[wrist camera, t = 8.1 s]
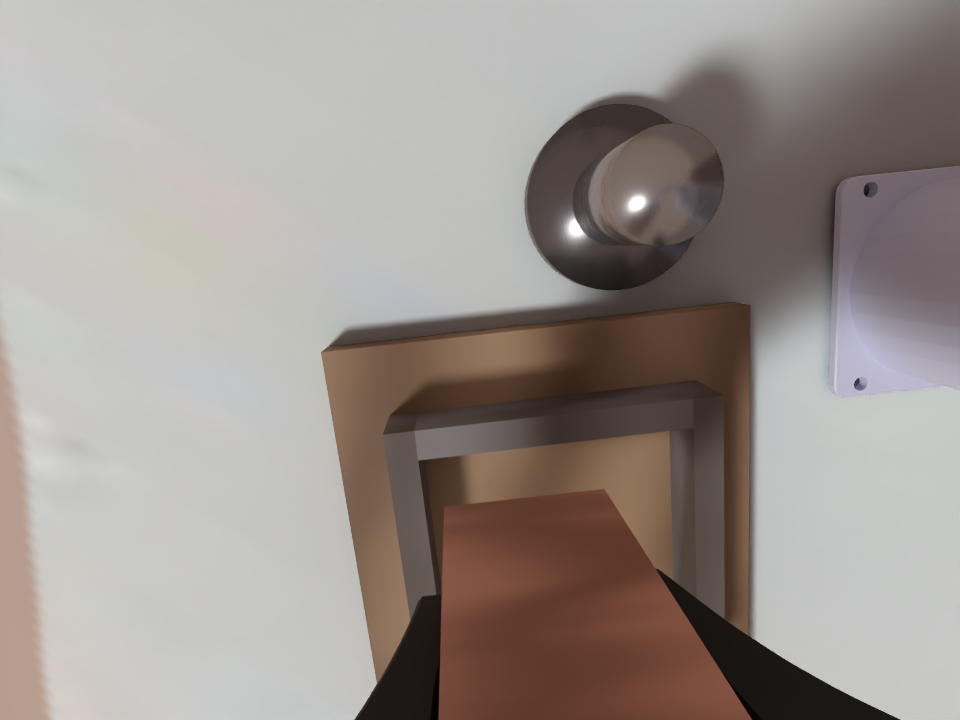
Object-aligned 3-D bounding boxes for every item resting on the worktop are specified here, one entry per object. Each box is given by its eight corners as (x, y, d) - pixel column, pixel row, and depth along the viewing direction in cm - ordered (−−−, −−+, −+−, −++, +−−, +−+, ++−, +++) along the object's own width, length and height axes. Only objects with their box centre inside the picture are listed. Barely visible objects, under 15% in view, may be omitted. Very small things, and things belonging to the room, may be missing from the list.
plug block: (604, 488, 13) (771, 750, 6) (611, 628, 14) (764, 992, 7) (443, 506, 13) (436, 793, 6) (460, 646, 14) (469, 1034, 7)
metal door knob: (692, 102, 18) (782, 47, 13) (694, 279, 19) (778, 289, 14) (517, 119, 18) (543, 69, 13) (531, 297, 19) (559, 313, 14)
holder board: (735, 302, 19) (785, 311, 17) (735, 670, 23) (777, 732, 20) (327, 346, 19) (305, 364, 16) (389, 716, 22) (379, 786, 19)
